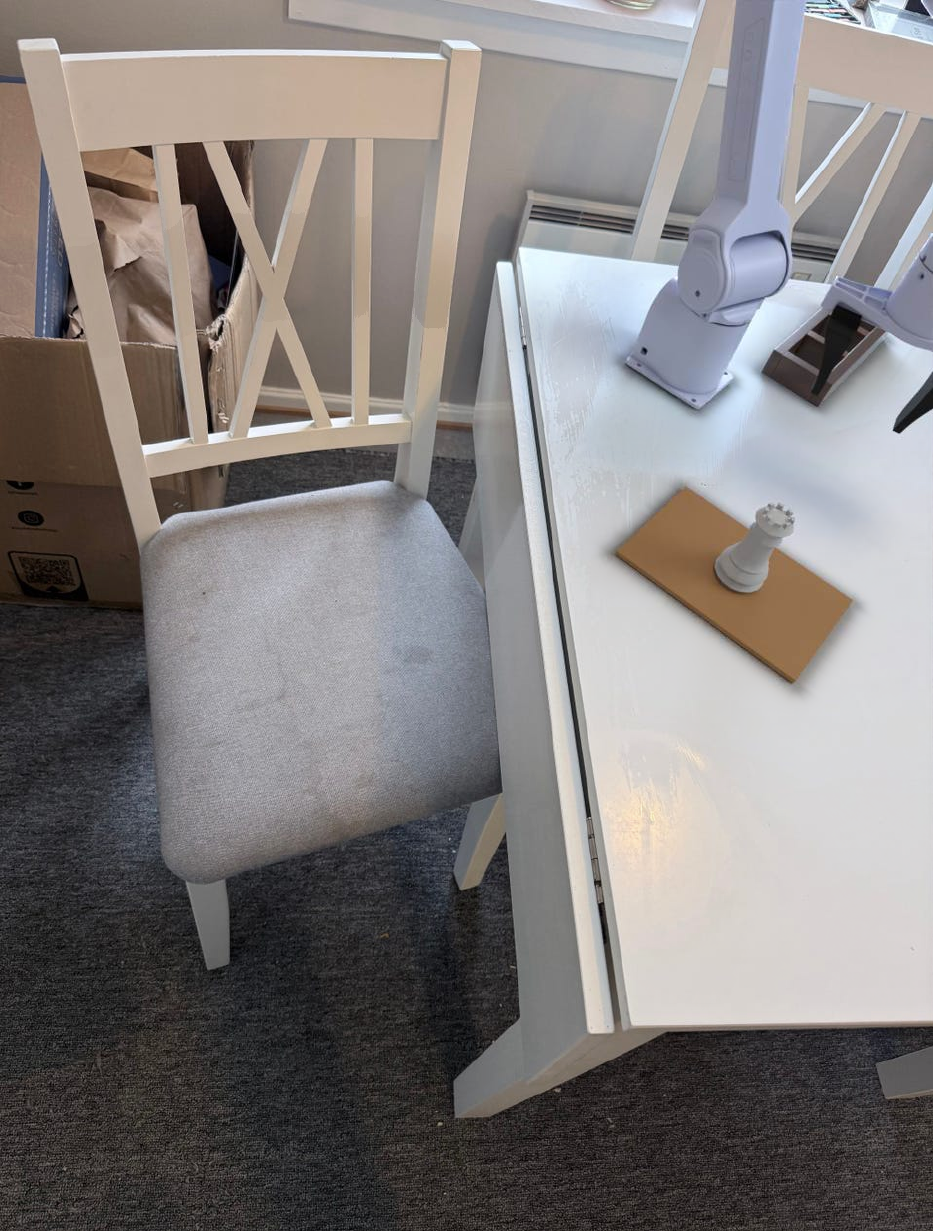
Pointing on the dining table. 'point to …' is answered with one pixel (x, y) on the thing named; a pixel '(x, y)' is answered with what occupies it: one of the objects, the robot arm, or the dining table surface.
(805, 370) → the stand
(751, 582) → the rook chess piece
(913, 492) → the dining table surface
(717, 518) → the cork mat
